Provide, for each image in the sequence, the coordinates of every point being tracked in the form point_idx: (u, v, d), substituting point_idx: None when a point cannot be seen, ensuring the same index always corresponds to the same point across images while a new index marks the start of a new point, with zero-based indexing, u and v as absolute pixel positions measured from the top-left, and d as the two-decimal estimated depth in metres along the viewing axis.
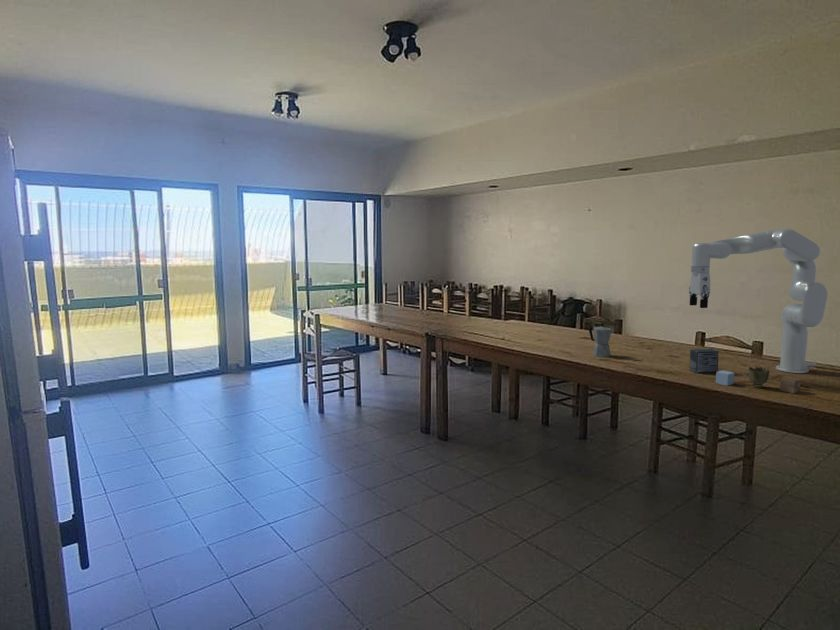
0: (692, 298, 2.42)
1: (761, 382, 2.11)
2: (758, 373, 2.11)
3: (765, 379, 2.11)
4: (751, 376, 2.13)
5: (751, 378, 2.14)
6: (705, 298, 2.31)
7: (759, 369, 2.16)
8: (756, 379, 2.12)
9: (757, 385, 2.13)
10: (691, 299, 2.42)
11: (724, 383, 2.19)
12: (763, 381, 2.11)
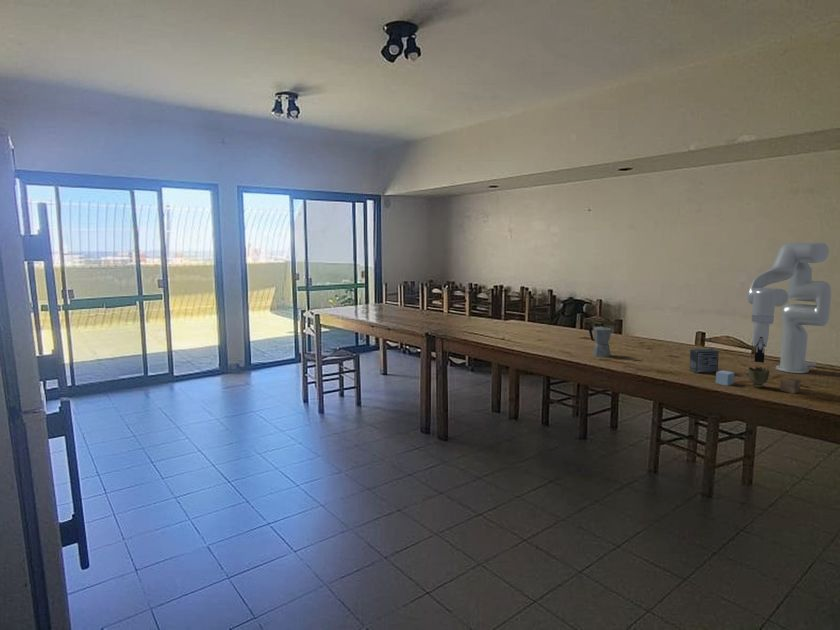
0: None
1: (761, 382, 2.11)
2: (758, 373, 2.11)
3: (765, 379, 2.11)
4: (751, 376, 2.13)
5: (751, 378, 2.14)
6: None
7: (759, 369, 2.16)
8: (756, 379, 2.12)
9: (757, 385, 2.13)
10: None
11: (724, 383, 2.19)
12: (763, 381, 2.11)
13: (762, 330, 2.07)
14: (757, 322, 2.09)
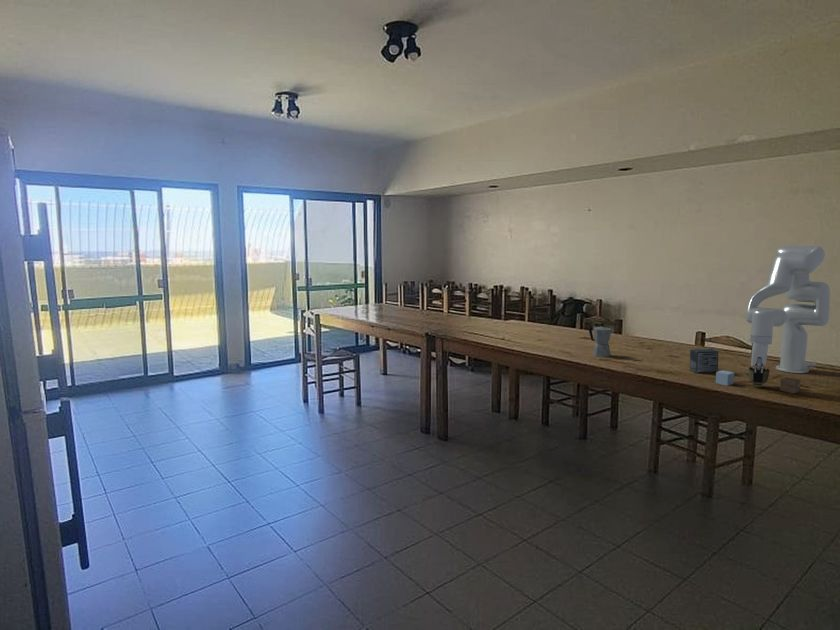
0: None
1: None
2: None
3: (765, 379, 2.11)
4: (751, 376, 2.13)
5: (751, 378, 2.14)
6: None
7: None
8: None
9: (757, 385, 2.13)
10: None
11: (724, 383, 2.19)
12: (763, 381, 2.11)
13: (760, 350, 2.08)
14: (756, 342, 2.10)
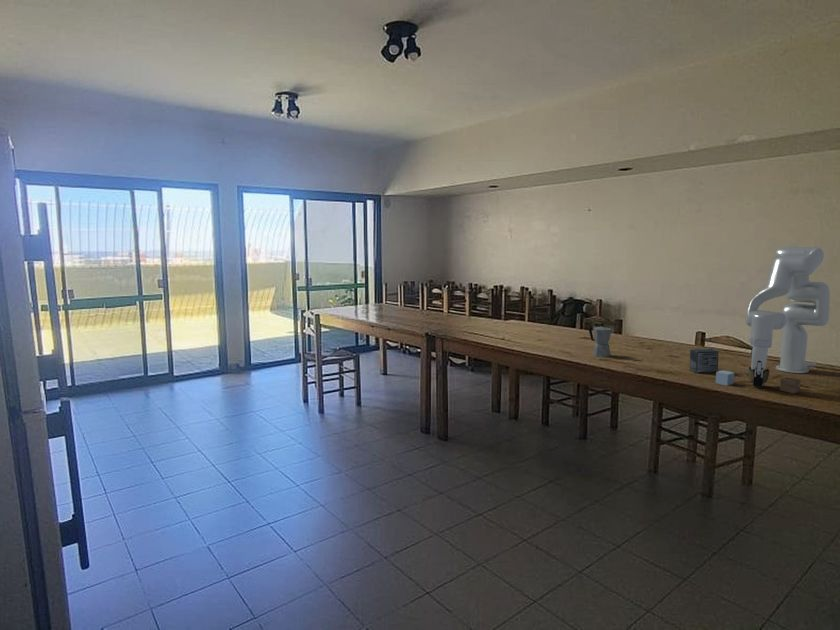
0: None
1: None
2: None
3: (765, 379, 2.11)
4: (751, 376, 2.13)
5: (751, 378, 2.14)
6: None
7: None
8: None
9: None
10: None
11: (724, 383, 2.19)
12: (763, 381, 2.11)
13: (760, 354, 2.09)
14: (755, 346, 2.10)
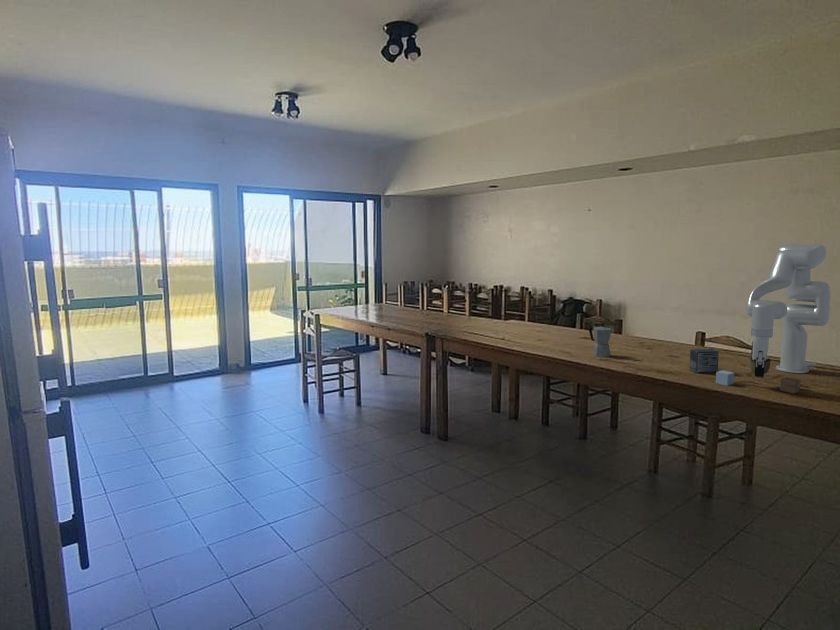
0: None
1: None
2: None
3: (767, 369, 2.11)
4: (752, 366, 2.13)
5: (752, 368, 2.14)
6: None
7: None
8: None
9: None
10: None
11: (724, 383, 2.19)
12: (764, 371, 2.11)
13: (761, 344, 2.08)
14: (756, 336, 2.10)
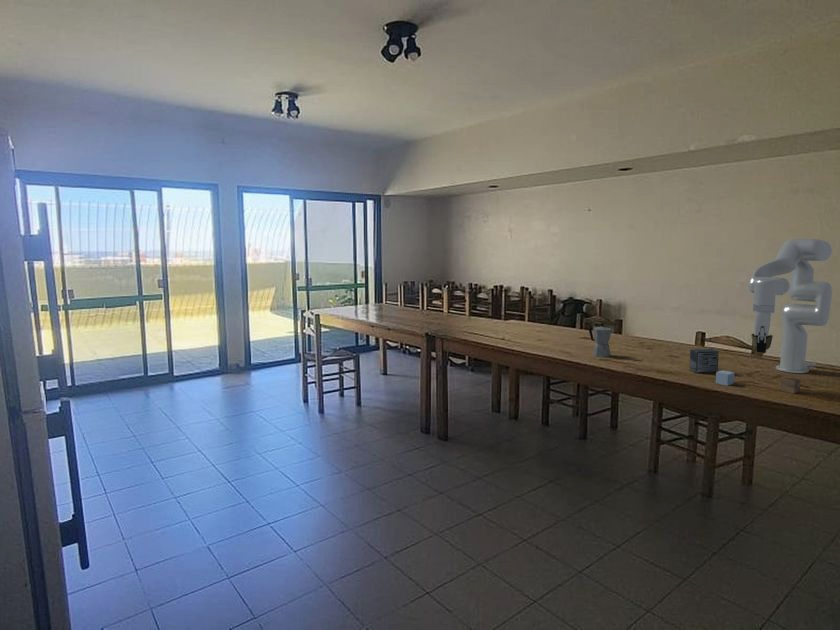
0: None
1: None
2: None
3: (769, 345, 2.11)
4: (754, 342, 2.13)
5: (754, 344, 2.14)
6: None
7: None
8: None
9: None
10: None
11: (724, 383, 2.19)
12: (766, 347, 2.11)
13: (763, 319, 2.08)
14: (758, 311, 2.10)
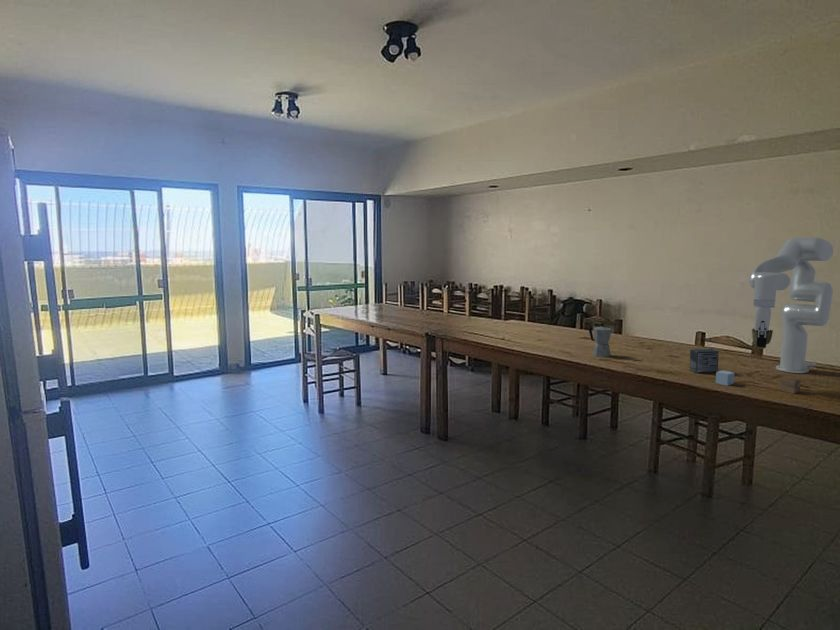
0: None
1: None
2: None
3: (769, 339, 2.12)
4: (754, 337, 2.14)
5: (754, 339, 2.14)
6: None
7: None
8: None
9: None
10: None
11: (724, 383, 2.19)
12: (766, 341, 2.12)
13: (763, 314, 2.09)
14: (759, 306, 2.11)
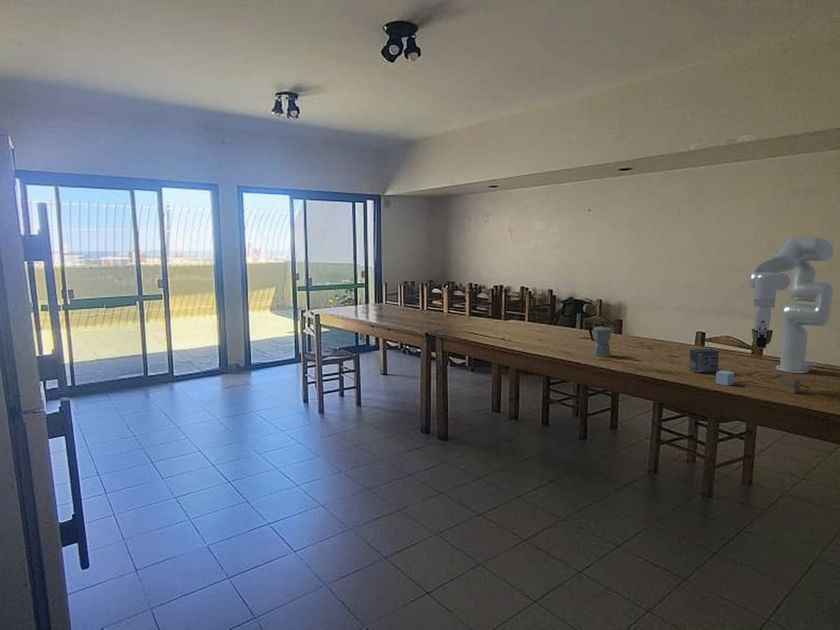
0: None
1: None
2: None
3: (769, 339, 2.12)
4: (754, 337, 2.14)
5: (754, 339, 2.14)
6: None
7: None
8: None
9: None
10: None
11: (724, 383, 2.19)
12: (766, 341, 2.12)
13: (763, 314, 2.09)
14: (759, 306, 2.11)
